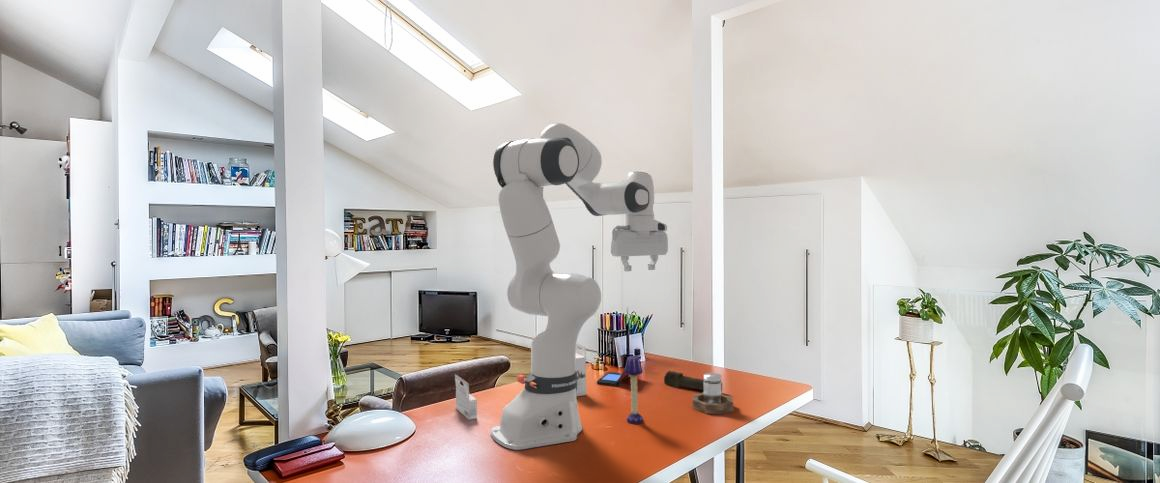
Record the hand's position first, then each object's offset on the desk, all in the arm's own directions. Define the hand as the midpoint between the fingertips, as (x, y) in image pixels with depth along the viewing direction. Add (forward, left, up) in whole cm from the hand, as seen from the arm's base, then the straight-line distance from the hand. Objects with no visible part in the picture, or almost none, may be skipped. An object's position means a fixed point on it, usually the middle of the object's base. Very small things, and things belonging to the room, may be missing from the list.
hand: (639, 270), depth 160 cm
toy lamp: (-18, -19, -37) cm, 46 cm away
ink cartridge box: (-52, +11, -38) cm, 65 cm away
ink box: (-18, +10, -37) cm, 43 cm away
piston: (+7, -23, -37) cm, 44 cm away
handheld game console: (+1, +12, -38) cm, 40 cm away
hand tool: (+14, -8, -38) cm, 41 cm away
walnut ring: (+7, -23, -37) cm, 44 cm away
